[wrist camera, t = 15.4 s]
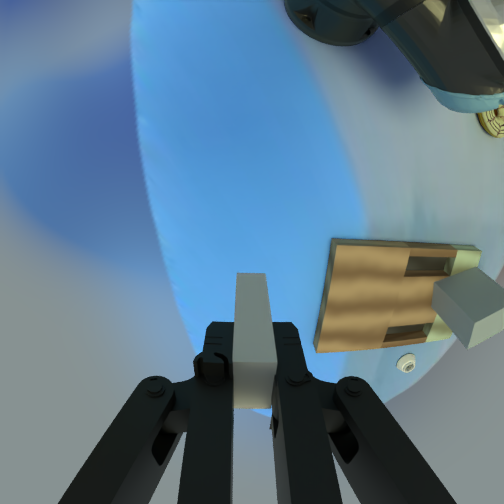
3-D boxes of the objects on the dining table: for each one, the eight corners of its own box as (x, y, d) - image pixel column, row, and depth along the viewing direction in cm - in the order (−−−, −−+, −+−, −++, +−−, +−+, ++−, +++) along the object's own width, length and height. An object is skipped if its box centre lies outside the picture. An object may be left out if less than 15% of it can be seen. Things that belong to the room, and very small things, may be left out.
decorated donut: (487, 78, 33) (499, 77, 30) (507, 122, 36) (519, 123, 33) (465, 97, 36) (477, 97, 32) (486, 145, 39) (499, 147, 35)
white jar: (392, 363, 59) (402, 369, 60) (397, 371, 56) (406, 377, 57) (407, 349, 57) (416, 356, 58) (412, 357, 54) (421, 364, 56)
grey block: (433, 282, 46) (474, 323, 33) (475, 266, 45) (517, 299, 33) (431, 307, 49) (467, 349, 36) (472, 290, 48) (509, 325, 35)
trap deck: (331, 238, 46) (336, 245, 43) (473, 245, 47) (481, 251, 44) (313, 343, 54) (316, 353, 51) (443, 330, 55) (449, 338, 53)
